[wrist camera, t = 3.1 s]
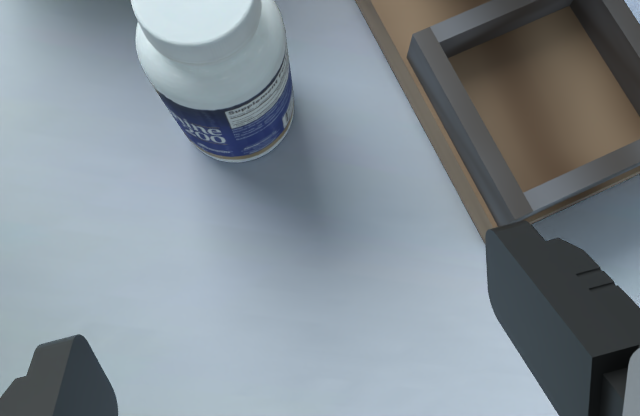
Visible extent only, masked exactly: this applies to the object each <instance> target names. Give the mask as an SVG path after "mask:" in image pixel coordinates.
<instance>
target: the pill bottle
mask: <svg viewBox="0 0 640 416" xmlns="http://www.w3.org/2000/svg"><path fill="white" fill-rule="evenodd" d="M131 4H132V8H133V11H134V14H135V16H136V18H137V21H138V23H137V28H136V50H137V54H138V58H139V61H140V64H141V66H142V68H143V70H144V72H145V74H146V76H147V77H148V79H149V81H150V82H151V84H152V85H153V87H154V88H155V90H156V91H157V93H158V94H159V96H160V97H161V99H162V101H163V102H164V104H165V105H166V107H167V108H168V110H169V111H170V113H171V114H172V115H173V117H174V118H175V120H176V121H177V123H178V125H179V126H180V127H181V129H182V130H183V132H184V133H185V135H186V136H187V137H188V139H189V140H190V141H191V142H192V144H193V145H194V146H195V147H196V148H198V149H199V150H200V151H201V152H203V153H204V154H206V155H208V156H210V157H212V158H214V159H216V160H220V161H224V162H245V161H250V160H254V159H257V158H259V157H262V156H263V155H265V154H267V153H269V152H270V151H271V150H273V149H274V148H275V147H276V146H277V145H278V144H279V143H280V142H281V141H282V140H283V138H284V137H285V136H286V134H287V132H288V130H289V128H290V125H291V123H292V119H293V114H294V98H293V88H292V80H291V72H290V64H289V56H288V49H287V42H286V31H285V27H284V23H283V19H282V16H281V13H280V11H279V9H278V7H277V5H276V3H275V2H274V0H131Z"/></svg>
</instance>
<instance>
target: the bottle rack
mask: <svg viewBox="0 0 640 416" xmlns="http://www.w3.org/2000/svg"><path fill="white" fill-rule="evenodd" d="M355 1H356V3H357V5H358V7H359V9H360V11H361V12H362V14H363V16H364V18H365V20H366V22H367V24H368V26H369V27H370V29H371V31H372V33H373V35H374V37H375V39H376V41H377V42H378V44H379V46H380V48H381V50H382V52H383V54H384V56H385V57H386V59H387V61H388V63H389V65H390V67H391V69H392V71H393V72H394V74H395V76H396V78H397V80H398V82H399V84H400V86H401V87H402V89H403V91H404V93H405V95H406V97H407V99H408V101H409V102H410V104H411V106H412V108H413V110H414V112H415V114H416V116H417V117H418V119H419V121H420V123H421V125H422V127H423V129H424V131H425V132H426V134H427V136H428V138H429V140H430V142H431V144H432V146H433V147H434V149H435V151H436V153H437V155H438V157H439V159H440V161H441V162H442V164H443V166H444V168H445V170H446V172H447V174H448V176H449V177H450V179H451V181H452V183H453V185H454V187H455V189H456V191H457V192H458V194H459V196H460V198H461V200H462V202H463V204H464V206H465V207H466V209H467V211H468V213H469V215H470V217H471V219H472V221H473V222H474V224H475V226H476V228H477V230H478V232H479V234H480V236H481V237H482V239H483V241H484V243H485V235H486V231H487V230H488V229H492V228H496V227H499V226H503V225H507V224H511V223H515V222H519V221H523V220H525V221H527V222H529V223H530V224H533V223H535V222H537V221H540V220H542V219H544V218H546V217H548V216H550V215H552V214H555V213H557V212H559V211H561V210H563V209H565V208H567V207H570V206H572V205H574V204H576V203H578V202H580V201H583V200H585V199H587V198H589V197H591V196H593V195H595V194H598V193H600V192H602V191H604V190H606V189H608V188H610V187H613V186H615V185H617V184H619V183H621V182H623V181H625V180H628V179H630V178H632V177H634V176H636V175H638V174H640V24H639V23H638V21H637V20H636V18H635V17H634V15H633V14H632V12H631V10H630V9H629V7H628V6H627V4H626V3H625V1H624V0H355ZM485 245H486V243H485Z"/></svg>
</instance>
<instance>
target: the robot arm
mask: <svg viewBox="0 0 640 416" xmlns="http://www.w3.org/2000/svg"><path fill="white" fill-rule="evenodd" d="M485 243H486V262H487V281H488V293H489V298H490V302H491V305H492V308H493V311H494V313H495V315H496V317H497V319H498V321H499V322H500V324H501V326H502V327H503V329H504V330H505V332H506V333H507V335H508V337H509V338H510V340H511V341H512V343H513V344H514V346H515V347H516V349H517V351H518V352H519V354H520V355H521V357H522V358H523V360H524V361H525V363H526V365H527V366H528V368H529V369H530V371H531V372H532V374H533V376H534V377H535V379H536V380H537V382H538V383H539V385H540V386H541V388H542V390H543V391H544V393H545V394H546V396H547V397H548V399H549V400H550V402H551V404H552V405H553V407H554V408H555V410H556V411H557V413H558V414H559V416H640V308H639V307H638V306H637V305H636V304H635V303H634V301H633V300H632V299H631V298H630V297H629V296H628V295H627V294H626V293H625V292H624V291H623V290H622V289H621V288H620V287H619V286H615V284H614V281H613V280H612V279H611V278H610V277H609V276H608V275H607V274H606V273H605V272H604V271H601V269H600V267H599V266H598V265H597V264H596V263H595V262H594V261H593V259H592V258H591V257H590V256H589V255H588V254H587V253H586V252H585V251H584V250H582V249H580V248H578V247H576V246H574V245H572V244H570V243H568V242H566V241H564V240H562V239H560V238H557V239H553V240H549V241H545V240H544V239H543V238H542V236H541V235H540V234H539V233H538V232H537V231H536V230H535V229H534V228H533V226H532V225H531V224H530V223H529V222H527V221H525V220H523V221H519V222H515V223H511V224H507V225H503V226H499V227H496V228H492V229H488V230H487V231H486V235H485ZM0 416H118V406H117V400H116V396H115V393H114V390H113V388H112V386H111V384H110V382H109V380H108V378H107V376H106V375H105V373H104V371H103V369H102V367H101V365H100V364H99V362H98V360H97V358H96V356H95V355H94V353H93V351H92V349H91V347H90V345H89V344H88V342H87V340H86V339H85V338H84V337H83V336H82V335H75V336H71V337H67V338H63V339H59V340H55V341H52V342H48V343H44V344H41V345H39V346H38V347H37V348H36V350H35V352H34V355H33V358H32V361H31V364H30V367H29V370H28V373H27V375H26V376H24V377H20V378H17V379H15V380H14V381H13V382H12V384H11V385H10V386H9V388H8V389H7V390H6V391H5V393H4V394H3V395H2V396H1V398H0Z"/></svg>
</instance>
